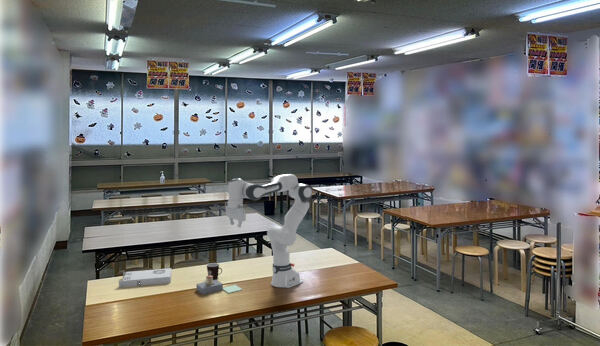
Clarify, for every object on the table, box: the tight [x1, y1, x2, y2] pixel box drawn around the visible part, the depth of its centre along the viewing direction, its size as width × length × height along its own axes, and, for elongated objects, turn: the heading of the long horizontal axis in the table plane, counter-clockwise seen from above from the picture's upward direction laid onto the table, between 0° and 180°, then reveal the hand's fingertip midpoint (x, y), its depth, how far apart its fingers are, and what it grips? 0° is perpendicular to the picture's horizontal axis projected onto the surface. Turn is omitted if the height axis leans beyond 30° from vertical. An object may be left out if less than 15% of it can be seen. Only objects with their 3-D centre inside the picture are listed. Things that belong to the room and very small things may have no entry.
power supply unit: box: [118, 267, 173, 288], centre depth 288 cm, size 19×33×5 cm, turn 105°
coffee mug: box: [206, 262, 223, 280], centre depth 290 cm, size 12×9×10 cm
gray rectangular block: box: [195, 279, 224, 295], centre depth 270 cm, size 14×10×4 cm
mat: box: [222, 284, 243, 294], centre depth 271 cm, size 10×10×1 cm
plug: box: [205, 275, 213, 286], centre depth 270 cm, size 4×4×9 cm
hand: (235, 225), depth 260 cm, fingers open, 8 cm apart
